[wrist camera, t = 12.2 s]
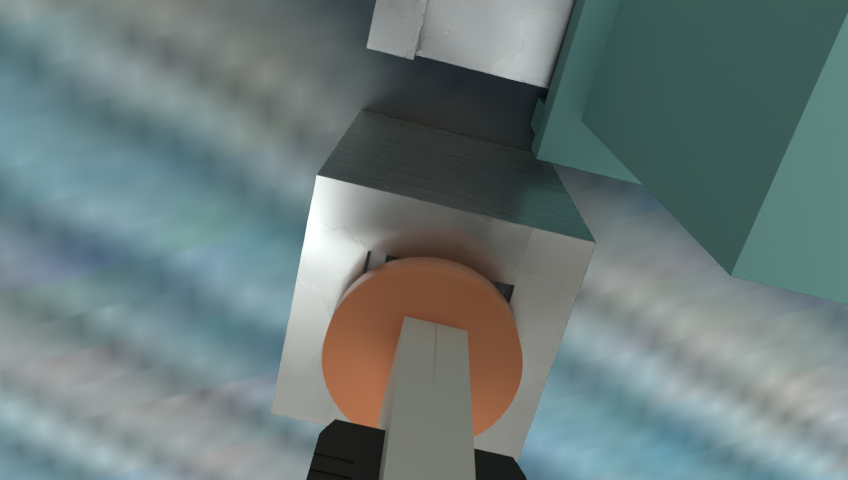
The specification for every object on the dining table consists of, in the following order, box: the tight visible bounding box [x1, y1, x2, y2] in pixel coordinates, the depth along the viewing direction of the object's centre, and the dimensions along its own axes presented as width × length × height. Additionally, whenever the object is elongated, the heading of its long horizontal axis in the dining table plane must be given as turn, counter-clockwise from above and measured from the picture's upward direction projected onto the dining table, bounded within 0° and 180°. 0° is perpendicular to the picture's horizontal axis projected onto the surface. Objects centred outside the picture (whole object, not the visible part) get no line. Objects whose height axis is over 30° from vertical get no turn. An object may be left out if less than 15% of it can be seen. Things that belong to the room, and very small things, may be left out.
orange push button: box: [322, 255, 523, 437], centre depth 19 cm, size 5×5×6 cm
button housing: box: [271, 110, 596, 463], centre depth 22 cm, size 7×7×9 cm
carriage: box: [530, 0, 848, 304], centre depth 16 cm, size 7×6×15 cm
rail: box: [366, 0, 576, 89], centre depth 23 cm, size 3×24×3 cm, turn 76°
